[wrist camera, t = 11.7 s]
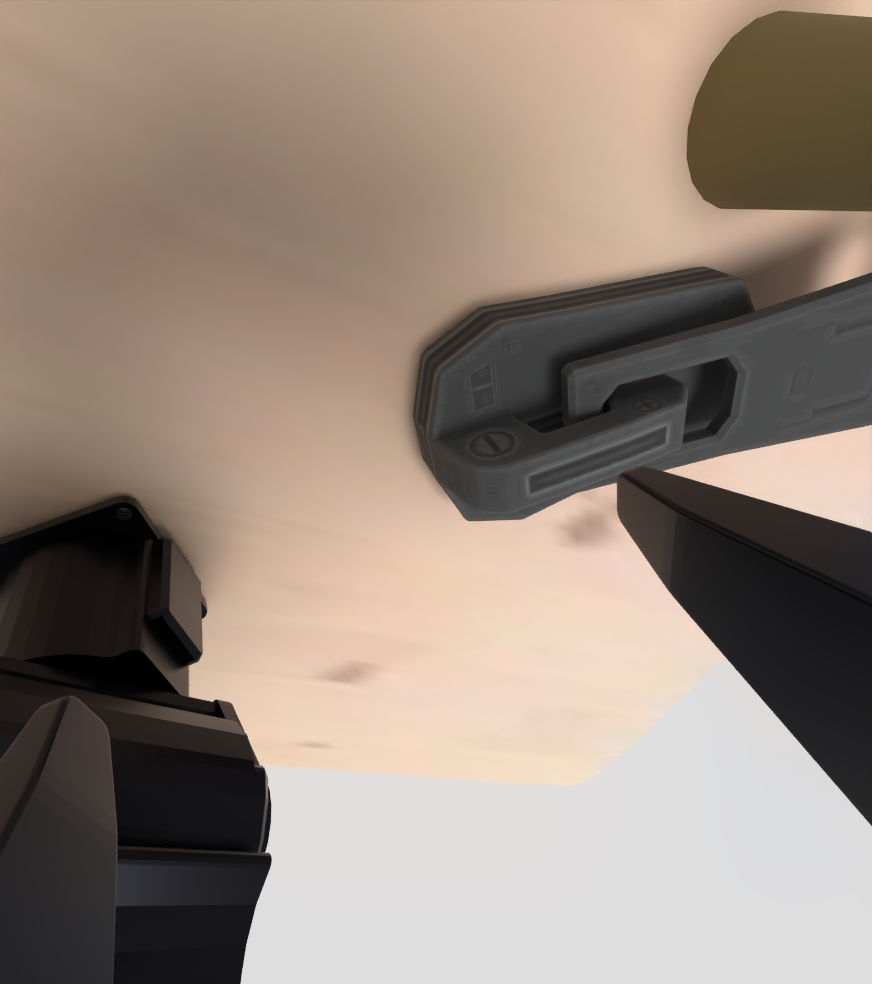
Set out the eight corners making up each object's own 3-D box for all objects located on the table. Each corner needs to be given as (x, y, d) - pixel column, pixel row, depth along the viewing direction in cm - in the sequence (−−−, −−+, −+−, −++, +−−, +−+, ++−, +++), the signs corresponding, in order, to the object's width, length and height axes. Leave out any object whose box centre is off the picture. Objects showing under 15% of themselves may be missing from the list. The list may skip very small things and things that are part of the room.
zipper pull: (1008, 409, 25) (494, 620, 21) (870, 355, 30) (434, 517, 26) (1123, 186, 20) (460, 412, 16) (931, 167, 25) (392, 333, 21)
